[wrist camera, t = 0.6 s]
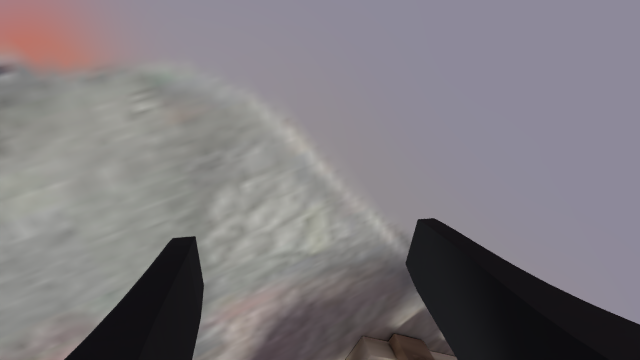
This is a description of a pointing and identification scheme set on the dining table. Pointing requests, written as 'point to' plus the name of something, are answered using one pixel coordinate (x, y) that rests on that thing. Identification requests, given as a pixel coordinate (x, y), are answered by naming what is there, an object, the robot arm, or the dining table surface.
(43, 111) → the dining table surface
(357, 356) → the board
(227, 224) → the dining table surface
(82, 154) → the dining table surface
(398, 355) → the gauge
